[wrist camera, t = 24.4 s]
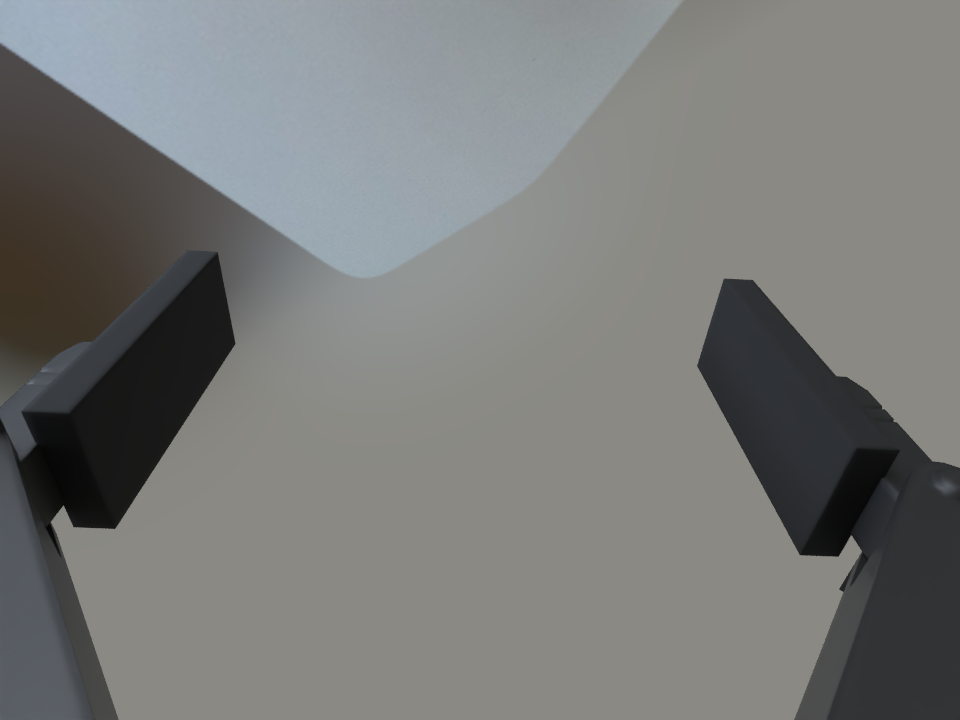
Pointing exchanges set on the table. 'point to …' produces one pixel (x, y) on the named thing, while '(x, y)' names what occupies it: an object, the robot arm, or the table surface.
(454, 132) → the table surface
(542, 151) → the table surface
